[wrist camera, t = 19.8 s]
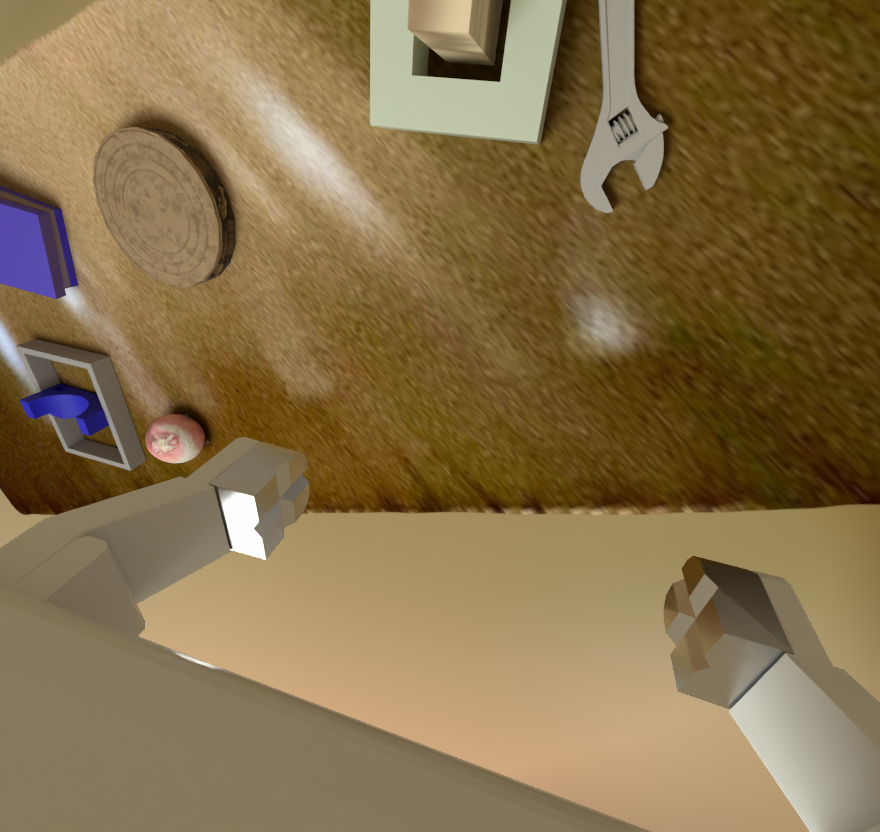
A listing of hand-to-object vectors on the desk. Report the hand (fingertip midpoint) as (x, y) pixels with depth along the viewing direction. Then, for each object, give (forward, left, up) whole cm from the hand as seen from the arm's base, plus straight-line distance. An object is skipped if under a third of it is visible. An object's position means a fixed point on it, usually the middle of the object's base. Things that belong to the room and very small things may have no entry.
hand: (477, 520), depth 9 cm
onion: (+49, +34, -37) cm, 70 cm away
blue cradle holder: (+68, +34, -37) cm, 85 cm away
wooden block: (+10, -15, -37) cm, 41 cm away
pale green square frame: (+10, -15, -37) cm, 41 cm away
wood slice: (+43, +2, -38) cm, 57 cm away
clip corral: (+68, +34, -37) cm, 85 cm away
